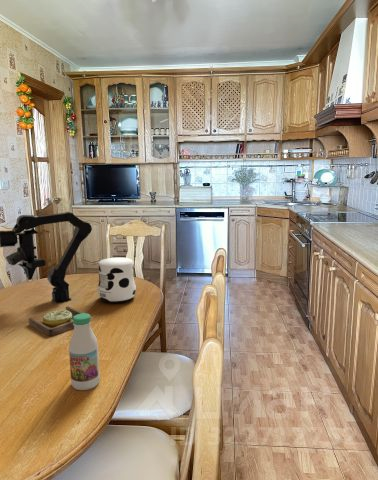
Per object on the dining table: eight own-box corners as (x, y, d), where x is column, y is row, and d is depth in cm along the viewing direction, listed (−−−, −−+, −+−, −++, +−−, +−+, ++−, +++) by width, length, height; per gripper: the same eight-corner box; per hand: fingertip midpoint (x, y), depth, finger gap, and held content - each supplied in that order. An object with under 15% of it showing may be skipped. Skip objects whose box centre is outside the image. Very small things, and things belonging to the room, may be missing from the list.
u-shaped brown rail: (68, 311, 154) (68, 306, 153) (90, 321, 143) (90, 315, 143) (29, 324, 141) (28, 318, 140) (50, 336, 131) (49, 330, 130)
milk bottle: (74, 376, 105) (70, 311, 102) (101, 374, 106) (98, 310, 102) (68, 392, 98) (63, 322, 94) (97, 390, 98) (93, 321, 95)
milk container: (138, 292, 178) (136, 256, 175) (133, 305, 161) (132, 265, 158) (102, 293, 177) (100, 257, 174) (94, 305, 160) (92, 266, 157)
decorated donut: (77, 320, 145) (77, 311, 145) (54, 330, 137) (54, 320, 136) (61, 314, 151) (60, 306, 150) (38, 323, 142) (37, 314, 142)
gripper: (-3, 245, 155) (1, 280, 158) (18, 250, 144) (22, 288, 146) (23, 241, 164) (26, 274, 167) (44, 246, 152) (47, 282, 155)
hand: (29, 279), depth 158 cm, fingers closed
